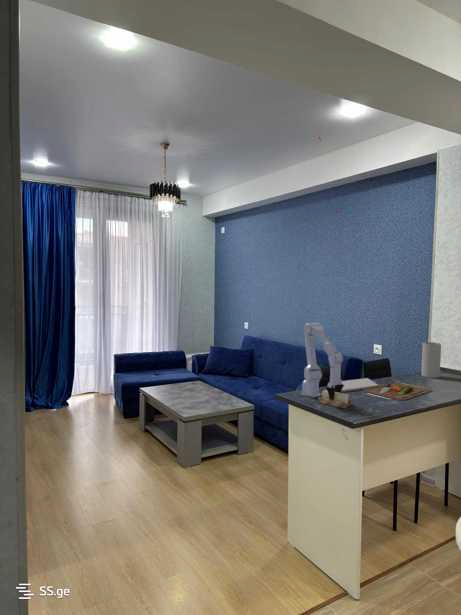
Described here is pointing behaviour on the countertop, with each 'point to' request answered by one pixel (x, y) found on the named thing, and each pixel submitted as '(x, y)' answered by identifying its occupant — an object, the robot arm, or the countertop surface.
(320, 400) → the oak rack
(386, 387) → the chopping board
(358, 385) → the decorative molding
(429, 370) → the cylinder vase
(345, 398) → the light grey rectangular block
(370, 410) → the countertop surface
